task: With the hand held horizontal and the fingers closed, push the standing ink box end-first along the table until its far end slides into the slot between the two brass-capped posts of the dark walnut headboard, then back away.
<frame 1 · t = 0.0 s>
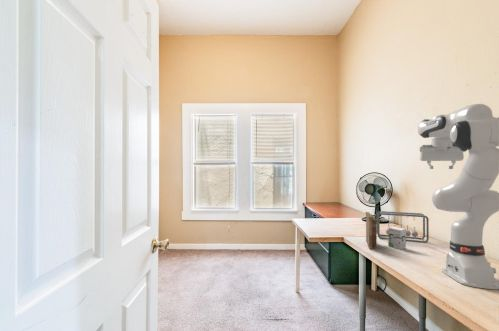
hand: (441, 169, 150), 48 cm above the table, tool pointing down, fingers open, 8 cm apart
ink box: (397, 247, 163), on the table
headboard: (375, 245, 167), on the table
newton's cradle: (401, 239, 184), on the table
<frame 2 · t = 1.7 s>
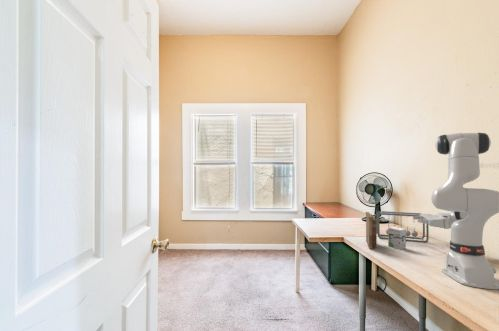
hand: (415, 219, 160), 18 cm above the table, tool horizontal, fingers open, 8 cm apart
nothing on the table moved.
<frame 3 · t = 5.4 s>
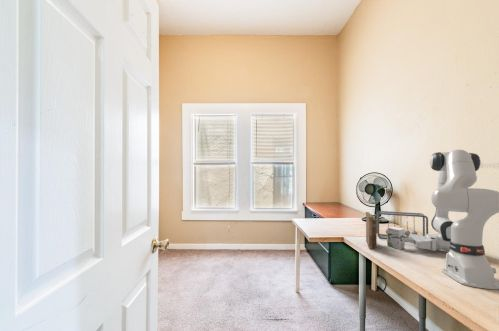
hand: (404, 239, 162), 5 cm above the table, tool horizontal, fingers closed
ink box: (395, 247, 163), on the table, touching gripper
everything else where it was.
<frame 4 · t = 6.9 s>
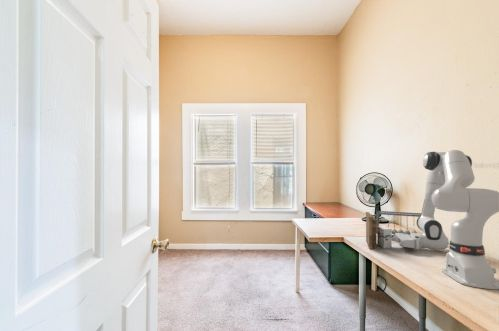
hand: (389, 238, 165), 5 cm above the table, tool horizontal, fingers closed
ink box: (384, 246, 165), on the table, touching gripper
everything else where it was.
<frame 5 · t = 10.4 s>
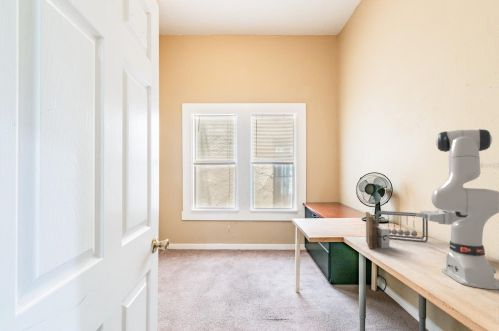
hand: (415, 214, 160), 20 cm above the table, tool horizontal, fingers closed
ink box: (382, 246, 165), on the table
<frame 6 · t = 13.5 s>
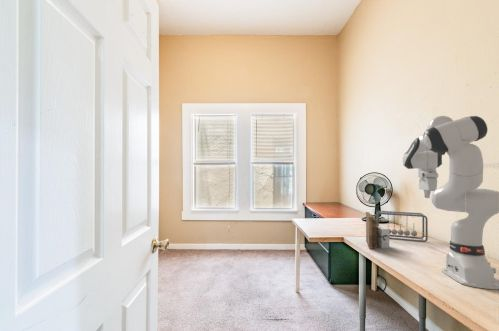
hand: (427, 197, 155), 31 cm above the table, tool pointing down, fingers closed
at the end: ink box inside the target area (2.0 cm from its centre), on the table; ink box tilted 0°; ink box moved 8.1 cm from its start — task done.
